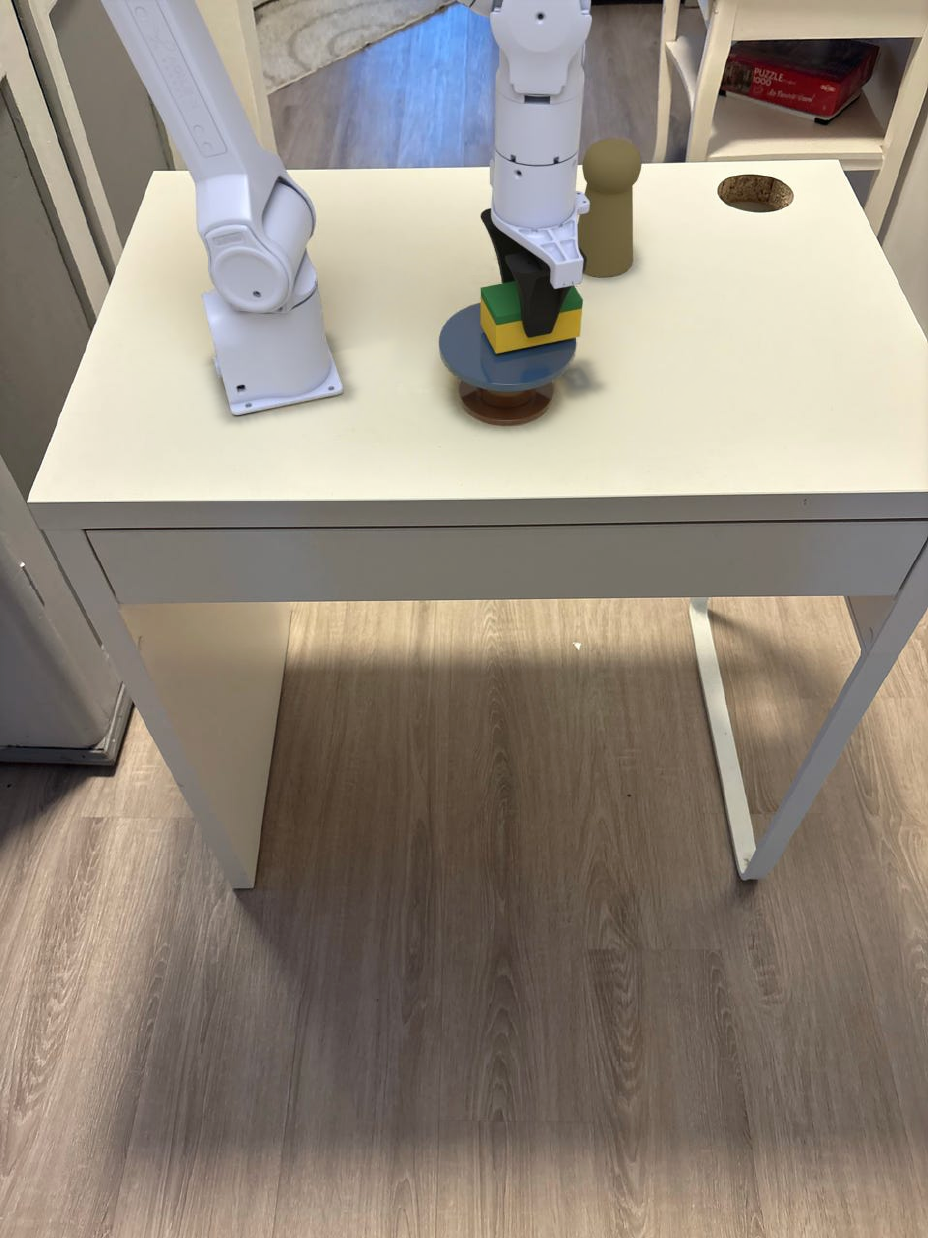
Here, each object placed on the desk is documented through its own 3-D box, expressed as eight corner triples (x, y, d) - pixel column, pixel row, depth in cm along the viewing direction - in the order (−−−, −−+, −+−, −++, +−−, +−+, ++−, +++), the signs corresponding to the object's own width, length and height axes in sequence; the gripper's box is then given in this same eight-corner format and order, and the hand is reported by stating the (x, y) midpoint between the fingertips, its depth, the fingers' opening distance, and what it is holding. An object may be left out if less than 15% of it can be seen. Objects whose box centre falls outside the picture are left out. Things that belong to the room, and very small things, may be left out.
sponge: (495, 353, 77) (496, 316, 74) (480, 324, 79) (480, 286, 76) (579, 336, 78) (583, 299, 75) (562, 307, 80) (565, 270, 77)
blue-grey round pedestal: (462, 450, 79) (461, 396, 74) (425, 366, 85) (422, 312, 81) (591, 422, 80) (597, 368, 76) (545, 342, 87) (548, 288, 82)
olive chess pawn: (632, 242, 96) (648, 129, 87) (633, 278, 93) (649, 164, 84) (571, 239, 97) (580, 127, 88) (568, 275, 93) (578, 161, 84)
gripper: (633, 188, 63) (611, 361, 74) (555, 88, 71) (545, 256, 82) (529, 207, 62) (522, 380, 72) (462, 103, 70) (465, 272, 81)
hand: (529, 316), depth 77 cm, fingers closed on sponge, 4 cm apart
